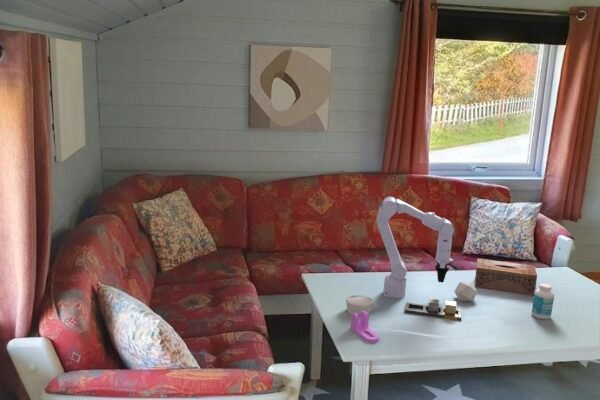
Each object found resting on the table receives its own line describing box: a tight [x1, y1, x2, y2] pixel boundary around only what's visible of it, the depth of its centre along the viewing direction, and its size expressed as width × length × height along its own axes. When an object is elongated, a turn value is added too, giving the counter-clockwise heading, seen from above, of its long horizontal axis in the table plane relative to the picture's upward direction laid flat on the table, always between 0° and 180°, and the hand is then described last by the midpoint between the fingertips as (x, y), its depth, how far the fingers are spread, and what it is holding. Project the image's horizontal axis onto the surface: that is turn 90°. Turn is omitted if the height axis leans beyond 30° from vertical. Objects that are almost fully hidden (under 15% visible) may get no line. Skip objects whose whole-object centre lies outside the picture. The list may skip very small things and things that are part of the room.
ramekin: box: [345, 294, 374, 317], centre depth 222 cm, size 11×11×5 cm
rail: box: [404, 302, 462, 322], centre depth 223 cm, size 22×8×2 cm, turn 75°
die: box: [454, 281, 478, 302], centre depth 238 cm, size 8×9×10 cm
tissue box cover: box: [474, 257, 538, 297], centre depth 257 cm, size 26×14×10 cm, turn 72°
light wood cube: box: [444, 300, 457, 316], centre depth 221 cm, size 4×4×5 cm
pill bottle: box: [531, 282, 555, 320], centre depth 224 cm, size 8×7×14 cm
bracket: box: [349, 311, 380, 344], centre depth 202 cm, size 13×6×7 cm, turn 26°
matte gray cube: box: [428, 298, 440, 313], centre depth 223 cm, size 4×4×5 cm
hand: (440, 278), depth 236 cm, fingers open, 7 cm apart
